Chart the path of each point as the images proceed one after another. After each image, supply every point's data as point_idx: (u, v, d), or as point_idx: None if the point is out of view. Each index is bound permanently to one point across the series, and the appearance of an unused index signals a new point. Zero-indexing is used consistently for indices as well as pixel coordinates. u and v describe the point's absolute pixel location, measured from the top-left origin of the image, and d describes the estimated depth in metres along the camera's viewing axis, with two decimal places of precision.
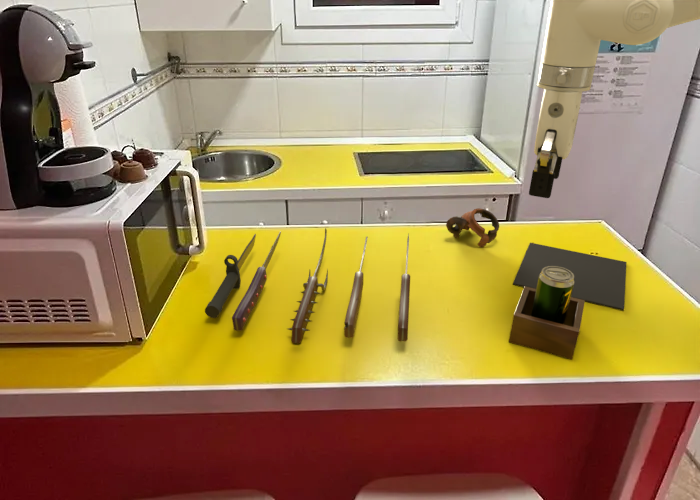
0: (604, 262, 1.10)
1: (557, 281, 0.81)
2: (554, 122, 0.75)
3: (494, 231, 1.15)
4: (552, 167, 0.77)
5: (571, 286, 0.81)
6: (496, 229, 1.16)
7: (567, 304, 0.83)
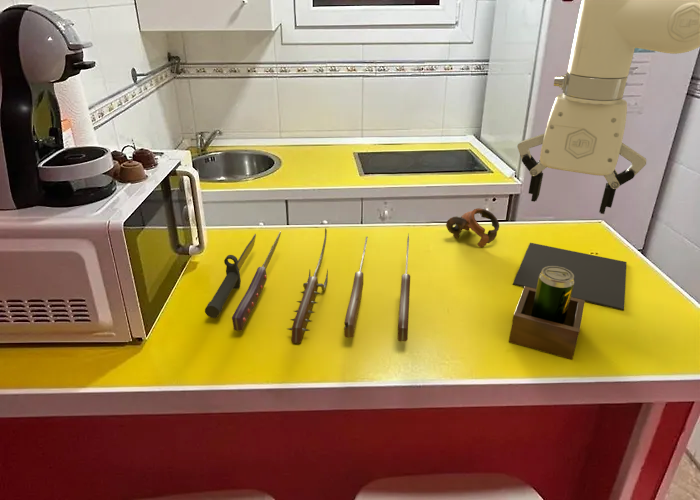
0: (604, 262, 1.10)
1: (557, 281, 0.81)
2: None
3: (494, 231, 1.15)
4: (532, 167, 0.78)
5: (571, 286, 0.81)
6: (496, 229, 1.16)
7: (567, 304, 0.83)
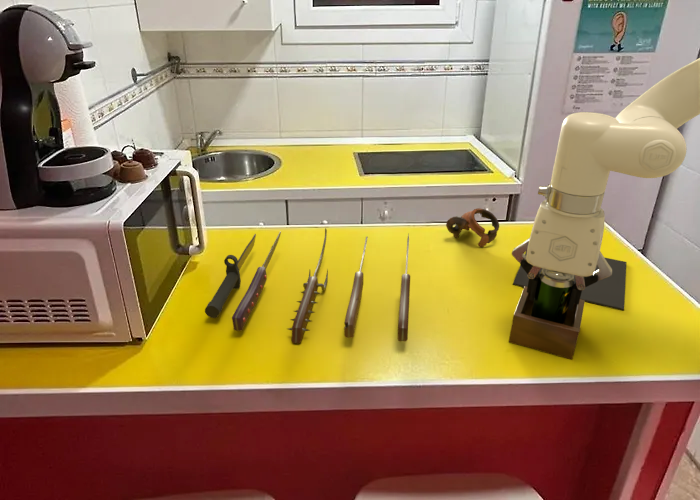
0: None
1: (557, 281, 0.81)
2: None
3: (494, 231, 1.15)
4: (529, 272, 0.84)
5: (571, 286, 0.81)
6: (496, 229, 1.16)
7: (567, 304, 0.83)
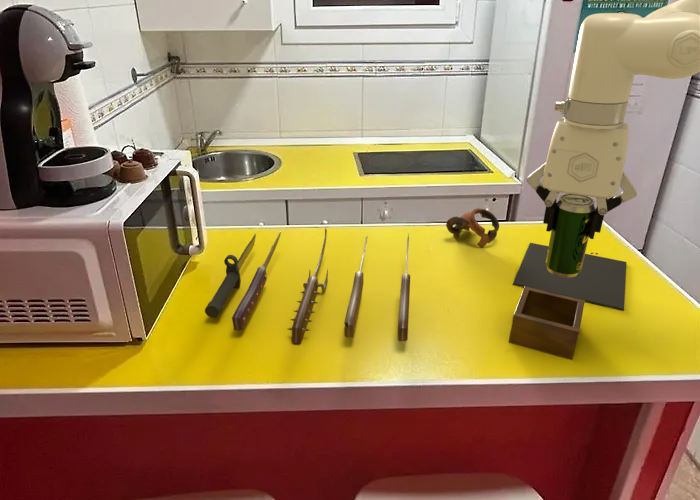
0: (604, 262, 1.10)
1: (577, 206, 0.75)
2: None
3: (494, 231, 1.15)
4: (545, 199, 0.78)
5: (591, 211, 0.75)
6: (496, 229, 1.16)
7: (588, 233, 0.77)
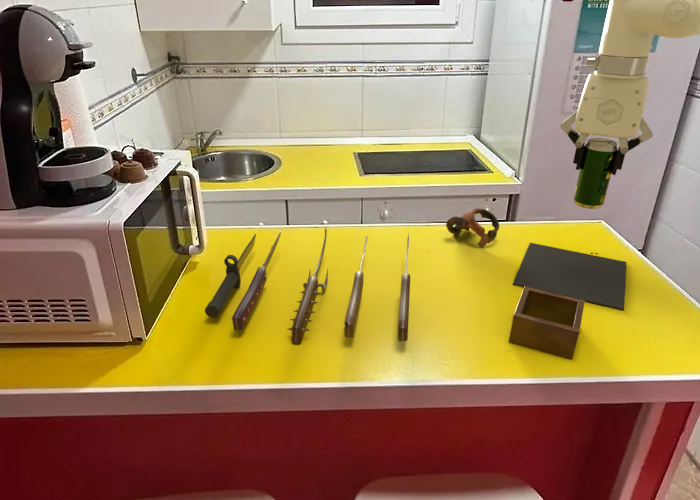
0: (604, 262, 1.10)
1: (603, 146, 0.91)
2: None
3: (494, 231, 1.15)
4: (576, 141, 0.93)
5: (615, 150, 0.91)
6: (496, 229, 1.16)
7: (611, 170, 0.93)
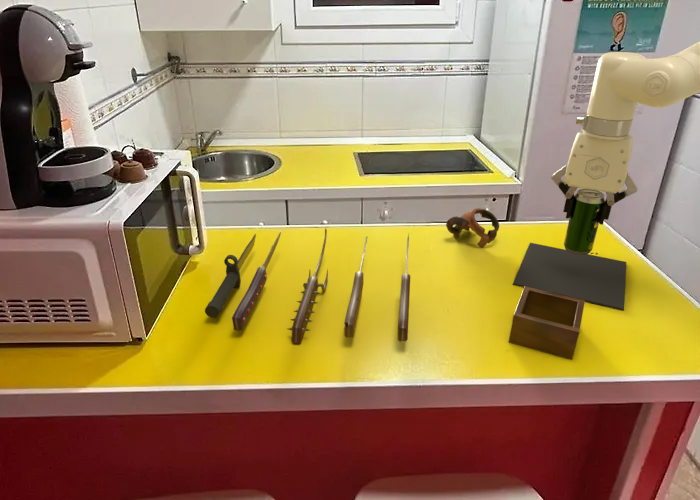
0: (604, 262, 1.10)
1: (591, 198, 0.97)
2: None
3: (494, 231, 1.15)
4: (566, 193, 0.99)
5: (602, 202, 0.97)
6: (496, 229, 1.16)
7: (598, 219, 0.99)
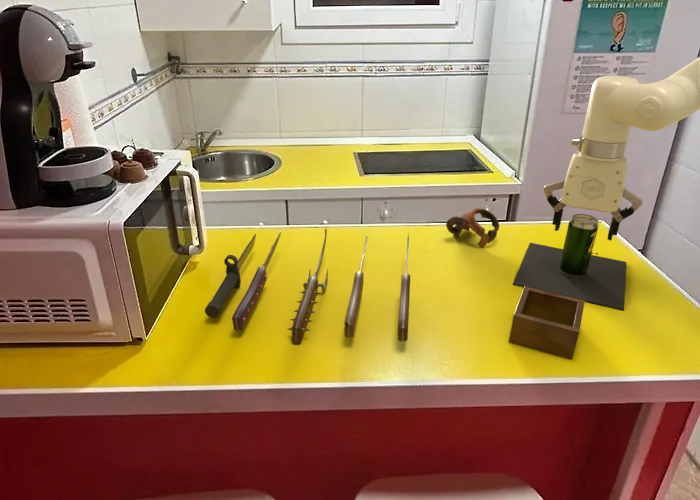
0: (604, 262, 1.10)
1: (585, 224, 0.99)
2: None
3: (494, 231, 1.15)
4: (555, 205, 1.01)
5: (596, 228, 1.00)
6: (496, 229, 1.16)
7: (592, 244, 1.01)
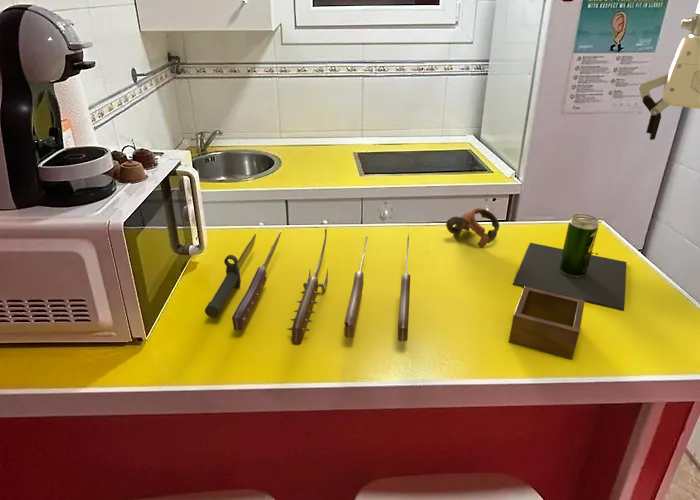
0: (604, 262, 1.10)
1: (585, 224, 0.99)
2: (671, 65, 0.81)
3: (494, 231, 1.15)
4: (653, 107, 0.84)
5: (596, 228, 1.00)
6: (496, 229, 1.16)
7: (592, 244, 1.01)
